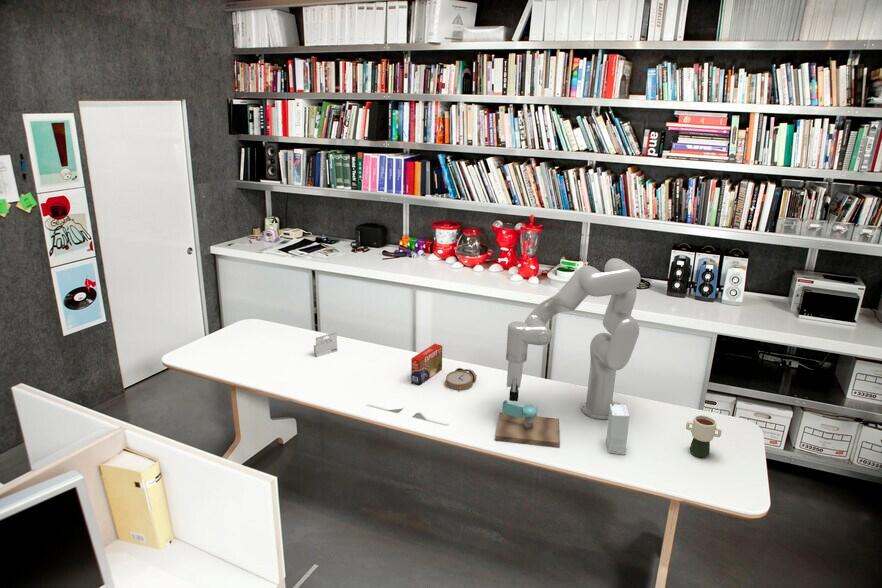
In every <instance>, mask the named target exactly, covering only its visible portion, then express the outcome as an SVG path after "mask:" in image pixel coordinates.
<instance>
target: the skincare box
mask: <svg viewBox="0 0 882 588" xmlns="http://www.w3.org/2000/svg"><path fill="white" fill-rule="evenodd" d="M629 423H630V413H629V410H628V406H627V405H626V404H620V405H616V404H610V407H609V417H608V419H607V429H606V439H605V440H606V445H607V446H606V448H607V451H608V454H615V455H616V454H617V455H623V456H624V455H626V452H627V445H628V444H627V443H628V442H627V441H628V432H629V431H628V430H629Z"/></svg>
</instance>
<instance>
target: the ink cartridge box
mask: <svg viewBox="0 0 882 588" xmlns="http://www.w3.org/2000/svg"><path fill="white" fill-rule="evenodd" d="M337 336H338V335H337V331H335V332H332V333H329V334H326V335H320V336H318V337H315V344H314V345H313V353H314V357H316V358H318V357H322V356H325V355H329V354H334V353H336V352H338V351H339V350H338V339H337V338H338V337H337ZM326 337H328V338H326Z"/></svg>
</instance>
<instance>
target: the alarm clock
mask: <svg viewBox="0 0 882 588" xmlns="http://www.w3.org/2000/svg"><path fill="white" fill-rule="evenodd" d="M477 376H478V375H477V374H476V372H475V371H474V370H472V369H468V368H467V369H465V368H462V367H457V368H456V369H455V370H454V371H451V372H448V373H447V375H446V377H445V383H444V385H445V386H446V387H447V388H448V389H451V390H453V391H458V392H459V391H462V392H463V391H467V390H470V389H471V388H472V387H473V385H474V382H476V381H477Z"/></svg>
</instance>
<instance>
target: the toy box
mask: <svg viewBox="0 0 882 588" xmlns="http://www.w3.org/2000/svg"><path fill="white" fill-rule="evenodd" d="M410 360H411V363H410V364H411V368H410V369H411V373H410V374H411V375H410V376H411V377H410V380H411V381H410V384H412V385H414V386H418V387H421V385H424V384H425V382H427V381H428V380H430V379H431V378H433V377H434V376H435V375H437V374H438V373H439V372H441V371H442V370H443V345H441V344H439V343H433V344H432V345H430V346H429V347H427V348H426V349H424V350H422V351H420V352H419V353H418V354H416V355H415V356H413V357H412V358H411V359H410Z"/></svg>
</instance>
